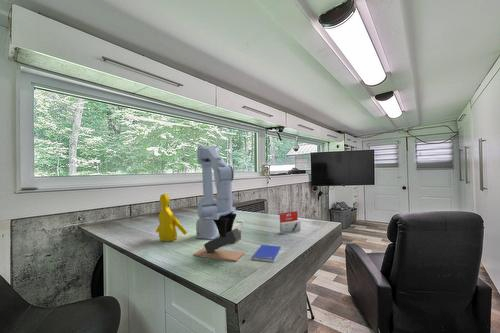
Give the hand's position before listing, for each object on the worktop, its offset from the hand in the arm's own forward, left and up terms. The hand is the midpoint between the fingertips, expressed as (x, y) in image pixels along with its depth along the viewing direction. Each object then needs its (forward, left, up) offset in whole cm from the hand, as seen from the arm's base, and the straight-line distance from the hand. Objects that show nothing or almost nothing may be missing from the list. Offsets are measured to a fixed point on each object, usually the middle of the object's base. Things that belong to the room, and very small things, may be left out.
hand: (225, 234), depth 80 cm
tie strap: (-5, +19, -3) cm, 20 cm away
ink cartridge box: (+17, +36, -8) cm, 41 cm away
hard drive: (+14, +6, -8) cm, 18 cm away
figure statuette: (-35, +8, -8) cm, 37 cm away
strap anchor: (-5, +16, -8) cm, 18 cm away
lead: (-1, 0, -4) cm, 4 cm away
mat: (-3, 0, -8) cm, 8 cm away
